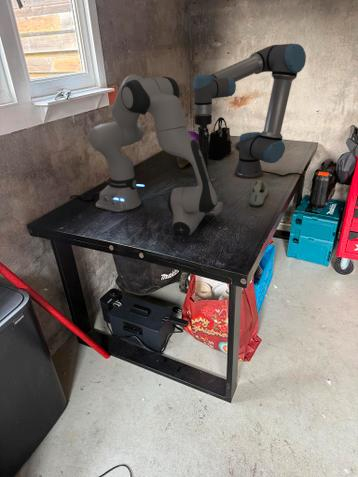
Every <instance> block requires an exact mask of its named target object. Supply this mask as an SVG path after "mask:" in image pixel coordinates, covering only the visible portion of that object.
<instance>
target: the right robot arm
mask: <svg viewBox="0 0 358 477" xmlns="http://www.w3.org/2000/svg"><path fill="white" fill-rule="evenodd" d="M306 61H307V55H306V51H305V49H304V47H303V46H302V45H301V44H299V43H283V44H272V45H269V46H266V47H264V48H262V49H259V50H257V51H255V52H253V53H251V54H250V56H249V57H247V58H245V59H243V60H241V61H238V62H235V63H233V64H231V65H229V66H226V67H224V68H222V69H220V70H218V71H215V72H213V73H211V74H198V75H195V76H194V77H193V78H194V79H193V83H192V88H193V99H194V100H193V101H194V102H193V103H194V104H193V105H194V106H193V107H192V109H193V110H194V114H195V115H194V124H195V125H196V126H198V127H197V131H198V133H197V134H198V135H199V146H200V148H201V151H202V154H203V157H204V160H205V163H206V166H207V162H208V153H209V152H208V151H209V148H208V145H209V136H210V132H209V128H208V126H209V125H212V123H213V115H212V113H213V99H221V98H228V97H232V96H234V95H235V92H236V91H237V82H238V81H241V80H243V79H245V78H247V77H249V76H252V75H259V74H262V73H269V72H270V73H271V77H272V79H273V82H272V88H271V92H270V97H269V102H268V106H267V112H266V117H265V122H264V126H263V131H251V132H244V133H242V134H240V136H239V141H238V142H239V150H238V162H237V165H236V167H235V170H234V174H235V176H236V177H239V178H243V179H255V178H259V177H261V176H262V175H263V173H265V174H269V175H275V176H279V177H287V176H289V175H292V176H293V175H298V176H300V177H301V178H305V176H304V174H302V173H300V172H287V173H285V174H280V173H277V172H273V171H267V170H263V169H262V165H261V161H262V162H264V163H268V164H275V163H277V162H279V161H280V160H281V159H282V157H283V156H284V154H285V151H286V146H285V143H284V141H283V138H284V137H283V135H282V128H283V123H284V119H285V116H286V115H285V114H286V111H287V105H288V101H289V97H290V93H291V89H292V84H293V81H294V80H296V79H297V77H298V74H299V73H300V72H301V71H302V70H303V69H304V67H305V65H306ZM207 167H208V166H207Z"/></svg>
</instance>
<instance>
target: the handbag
mask: <svg viewBox="0 0 358 477" xmlns="http://www.w3.org/2000/svg"><path fill="white" fill-rule="evenodd" d="M223 123H224V126H223ZM216 127H218V128H217V129H216ZM230 129H231V128H230V127H228V124H227V122H226V120H225V118H224V117H222V116H219V117H218V118H217V119H216V121H215V123H214V126H213V129H212V130H211V131H210V132H209V136H210V142H209V148H208V152H209V153H208V155H207V159H211V160H218V161H219V160H222V159H224V158H225V157H226V156H229V154H231V153H232V143H231V141H232V140H231V137H232V136H231V131H230Z"/></svg>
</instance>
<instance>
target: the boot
mask: <svg viewBox="0 0 358 477" xmlns="http://www.w3.org/2000/svg"><path fill="white" fill-rule="evenodd" d="M175 159H176V162H177V165H178V168H179V169H183V168H185V167H186V166H187V165H188V164H191V163H190V162H189V161H188V160H186V159H184V158H181V157H178V156H175Z"/></svg>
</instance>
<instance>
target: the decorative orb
mask: <svg viewBox="0 0 358 477" xmlns="http://www.w3.org/2000/svg"><path fill="white" fill-rule="evenodd" d="M188 133H189V135H190V136H191V138H192V139H193V140H194V141H197V142H198V144H199V134H198V133H197V132H195V131H192V130H188Z"/></svg>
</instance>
